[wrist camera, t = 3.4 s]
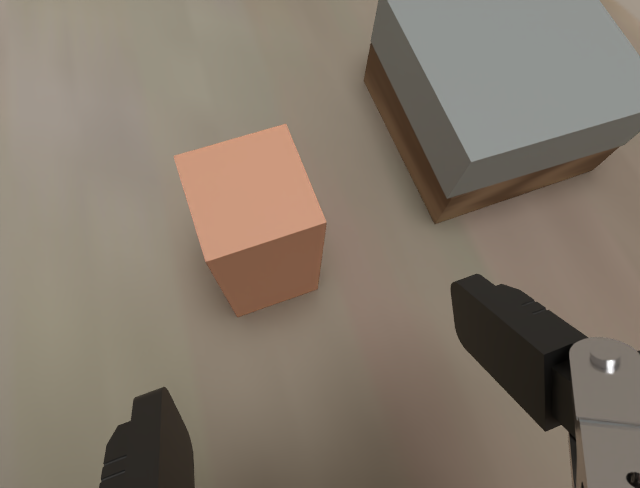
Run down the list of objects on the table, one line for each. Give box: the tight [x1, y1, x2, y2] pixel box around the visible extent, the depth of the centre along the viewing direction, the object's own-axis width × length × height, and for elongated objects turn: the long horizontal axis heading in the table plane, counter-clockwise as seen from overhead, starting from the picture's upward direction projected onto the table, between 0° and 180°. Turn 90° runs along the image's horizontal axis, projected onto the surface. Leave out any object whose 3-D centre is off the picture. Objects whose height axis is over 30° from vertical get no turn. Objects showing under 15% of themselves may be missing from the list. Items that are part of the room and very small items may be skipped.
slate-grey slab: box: [371, 0, 640, 199], centre depth 28 cm, size 12×12×4 cm
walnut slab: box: [364, 43, 620, 224], centre depth 32 cm, size 12×12×4 cm
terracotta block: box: [174, 124, 327, 317], centre depth 24 cm, size 5×5×10 cm
